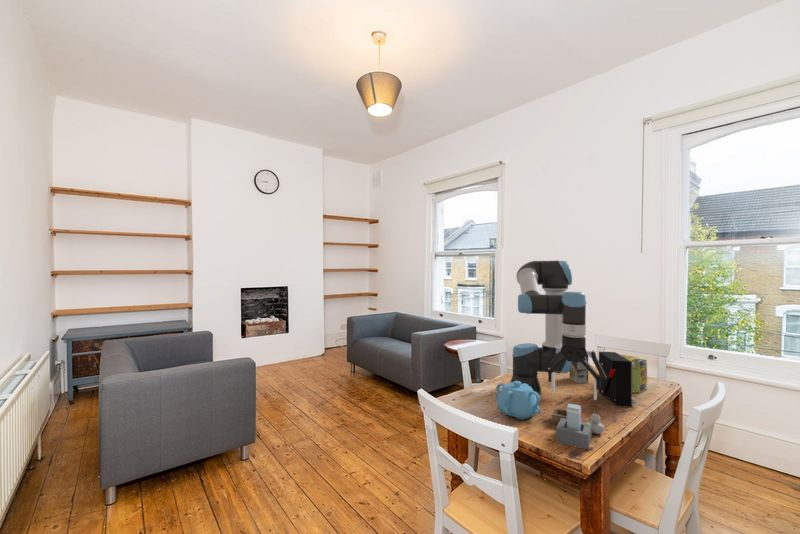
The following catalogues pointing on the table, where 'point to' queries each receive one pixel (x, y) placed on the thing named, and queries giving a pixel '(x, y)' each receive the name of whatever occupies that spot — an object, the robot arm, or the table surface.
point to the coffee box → (579, 372)
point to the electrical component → (617, 378)
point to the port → (573, 434)
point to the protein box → (638, 373)
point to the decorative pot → (517, 400)
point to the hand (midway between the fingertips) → (573, 394)
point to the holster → (558, 415)
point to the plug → (574, 417)
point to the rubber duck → (596, 424)
